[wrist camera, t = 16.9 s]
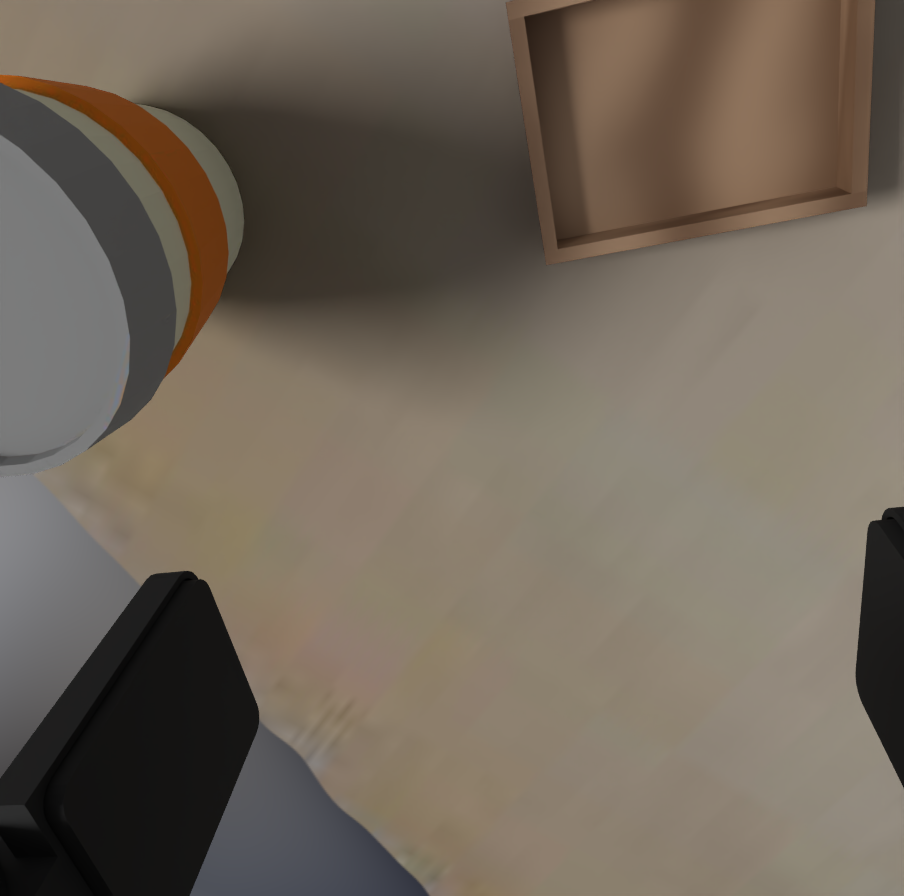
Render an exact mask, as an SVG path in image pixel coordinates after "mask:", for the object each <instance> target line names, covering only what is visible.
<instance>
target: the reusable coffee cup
mask: <svg viewBox="0 0 904 896" xmlns="http://www.w3.org/2000/svg"><path fill="white" fill-rule="evenodd" d="M243 229H244V214H243V203H242V200H241V196H240V192H239V189H238V185H237V182H236V180H235V178H234V176H233V174H232V172H231V170H230V167H229V165H228V164H227V162H226V161H225V159H224V158H223V157H222V155H221V154H220V152H219V151H218V149H217V148H216V147H215V146H214V145H213V144H212V143H211V142H210V141H209V140H208V138H207V137H206V136H205V135H204V134H203V133H202V132H200V131H199V130H198V129H196V128H195V127H194V126H192V125H191V124H190V123H188V122H187V121H186V120H184V119H182V118H180V117H178V116H176V115H174V114H172V113H170V112H168V111H166V110H162V109H158V108H155V107H151V106H147V105H140V104H134V103H132V102H130V101H128V100H126V99H124V98H122V97H120V96H118V95H116V94H113V93H109V92H106V91H102V90H98V89H95V88H91V87H87V86H82V85H75V84H69V83H62V82H55V81H49V80H42V79H36V78H29V77H22V76H11V75H0V477H7V476H18V475H28V474H35V473H38V472H41V471H44V470H47V469H51V468H54V467H57V466H60V465H62V464H64V463H66V462H67V461H69V460H71V459H72V458H74V457H76V456H77V455H79V454H81V453H82V452H84V451H86V450H87V449H89V448H90V447H92V446H93V445H95V444H96V443H97V442H99V441H100V440H102V439H103V438H105V437H106V436H108V435H109V434H111V433H112V432H114V431H115V430H117V429H118V428H120V427H121V426H123V425H124V424H125V423H127V422H128V421H130V420H131V419H132V418H133V417H134V416H135V415H136V414H137V413H138V412H139V411H140V410H141V409H142V408H143V407H144V406H145V405H146V404H147V403H148V402H149V401H150V400H151V399H152V397H153V395H154V394H155V392H156V390H157V388H158V387H159V385H160V383H161V382H162V380H163V379H164V378H165V377H166V376H167V375H168V374H169V373H170V372H171V371H172V370H173V369H174V368H175V367H176V365H177V364H178V363H179V362H180V360H181V359H182V357H183V356H184V354H185V353H186V351H187V350H188V348H189V347H190V345H191V344H192V342H193V341H194V339H195V338H196V336H197V335H198V333H199V332H200V330H201V329H202V327H203V326H204V324H205V322H206V321H207V319H208V318H209V316H210V314H211V313H212V311H213V309H214V308H215V306H216V304H217V303H218V301H219V299H220V296H221V293H222V290H223V286H224V283H225V280H226V276H227V273H228V271H229V270H230V268H231V266H232V265H233V263H234V261H235V260H236V258H237V256H238V252H239V249H240V246H241V243H242V239H243Z"/></svg>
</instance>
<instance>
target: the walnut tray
mask: <svg viewBox="0 0 904 896" xmlns="http://www.w3.org/2000/svg"><path fill="white" fill-rule="evenodd" d="M506 7H507V14H508V20H509V27H510V33H511V40H512V46H513V53H514V59H515V66H516V72H517V79H518V85H519V92H520V98H521V105H522V111H523V118H524V124H525V130H526V137H527V143H528V150H529V156H530V163H531V169H532V176H533V182H534V189H535V195H536V202H537V208H538V215H539V221H540V228H541V234H542V241H543V247H544V254H545V260H546V265H550V264H555V263H561V262H566V261H572V260H577V259H582V258H588V257H593V256H599V255H604V254H609V253H615V252H620V251H626V250H631V249H636V248H642V247H647V246H653V245H658V244H663V243H669V242H674V241H680V240H685V239H690V238H696V237H701V236H707V235H712V234H717V233H723V232H728V231H734V230H739V229H744V228H750V227H755V226H761V225H766V224H771V223H777V222H782V221H787V220H793V219H798V218H804V217H809V216H814V215H820V214H825V213H831V212H836V211H841V210H847V209H852V208H858V207H863V206H867V185H868V161H869V138H870V114H871V90H872V66H873V42H874V18H875V0H514V1H510V2H506Z"/></svg>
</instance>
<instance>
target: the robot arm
mask: <svg viewBox="0 0 904 896" xmlns="http://www.w3.org/2000/svg"><path fill="white" fill-rule="evenodd" d="M856 684H857V689H858V693H859V696H860V699H861V701H862V704H863V706H864V708H865V710H866V712H867V714H868V716H869V718H870V720H871V722H872V724H873V726H874V728H875V730H876V732H877V734H878V736H879V738H880V740H881V742H882V745H883V747H884V749H885V751H886V753H887V755H888V757H889V759H890V761H891V763H892V765H893V767H894V769H895V771H896V773H897V775H898V777H899V779H900V781H901V783H902V785H903V787H904V507H896V508H888V509H886V510H885V511H884V513H883V515H882V520H876V521H872V522H870V524H869V527H868V533H867V545H866V556H865V568H864V580H863V592H862V603H861V615H860V627H859V639H858V650H857V662H856ZM258 725H259V710H258V706H257V703H256V701H255V698H254V696H253V693H252V691H251V688H250V686H249V683H248V681H247V678H246V676H245V674H244V671H243V669H242V666H241V664H240V661H239V659H238V656H237V654H236V651H235V649H234V646H233V644H232V642H231V639H230V637H229V634H228V632H227V629H226V627H225V624H224V622H223V619H222V617H221V614H220V612H219V610H218V607H217V605H216V602H215V600H214V597H213V595H212V592H211V590H210V587H209V586H208V584H207V582H205V581H204V580H201V579H199V580H198V578H197V576H196V575H195V574H194V573H193V572H190V571H181V572H170V573H159V574H154V575H151V576H150V577H149V578H148V579H147V580H146V581H145V582H144V584H143V585H142V586H141V588H140V589H139V591H138V592H137V593H136V595H135V596H134V597H133V599H132V600H131V601H130V603H129V604H128V606H127V607H126V608H125V610H124V611H123V612H122V614H121V615H120V616H119V618H118V619H117V620H116V622H115V623H114V625H113V626H112V627H111V629H110V630H109V631H108V633H107V634H106V635H105V637H104V638H103V639H102V641H101V642H100V644H99V645H98V646H97V648H96V649H95V650H94V652H93V653H92V655H91V656H90V657H89V659H88V660H87V661H86V663H85V664H84V665H83V667H82V668H81V670H80V671H79V672H78V673H77V675H76V676H75V678H74V679H73V680H72V682H71V683H70V684H69V686H68V687H67V689H66V690H65V691H64V693H63V694H62V695H61V697H60V698H59V699H58V701H57V702H56V704H55V705H54V706H53V707H52V709H51V710H50V712H49V713H48V714H47V716H46V717H45V718H44V720H43V721H42V723H41V724H40V725H39V727H38V728H37V729H36V731H35V732H34V733H33V735H32V736H31V738H30V739H29V740H28V742H27V743H26V744H25V746H24V747H23V749H22V750H21V751H20V752H19V754H18V755H17V757H16V758H15V759H14V761H13V762H12V763H11V765H10V766H9V767H8V769H7V770H6V771H5V773H4V774H3V776H2V777H1V778H0V896H190V893H191V891H192V888H193V886H194V883H195V881H196V879H197V876H198V874H199V871H200V869H201V866H202V864H203V862H204V859H205V857H206V854H207V852H208V849H209V847H210V844H211V842H212V840H213V837H214V835H215V832H216V830H217V828H218V825H219V823H220V820H221V818H222V815H223V813H224V811H225V808H226V806H227V803H228V801H229V798H230V796H231V793H232V791H233V788H234V786H235V784H236V781H237V779H238V776H239V773H240V772H241V769H242V766H243V764H244V762H245V759H246V757H247V754H248V752H249V750H250V747H251V745H252V742H253V740H254V737H255V735H256V732H257V729H258Z"/></svg>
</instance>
